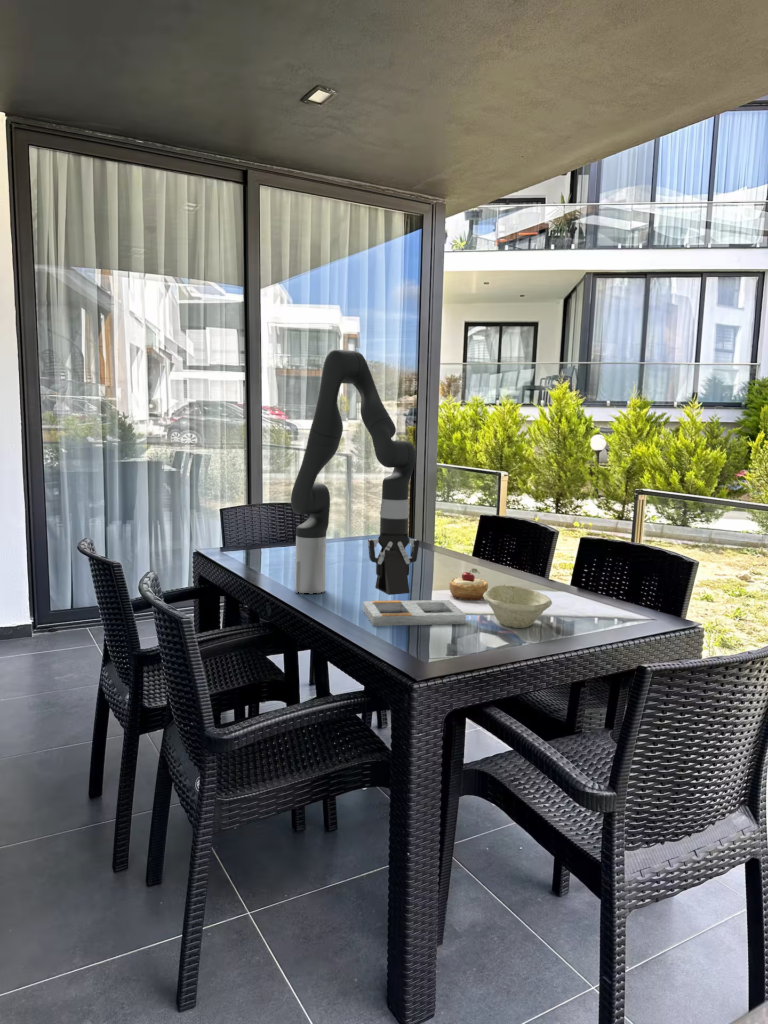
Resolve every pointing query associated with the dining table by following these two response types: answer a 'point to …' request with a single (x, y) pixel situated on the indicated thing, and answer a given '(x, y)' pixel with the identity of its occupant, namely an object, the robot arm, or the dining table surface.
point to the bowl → (516, 605)
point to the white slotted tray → (413, 612)
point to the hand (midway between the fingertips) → (392, 577)
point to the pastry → (468, 587)
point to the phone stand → (393, 574)
